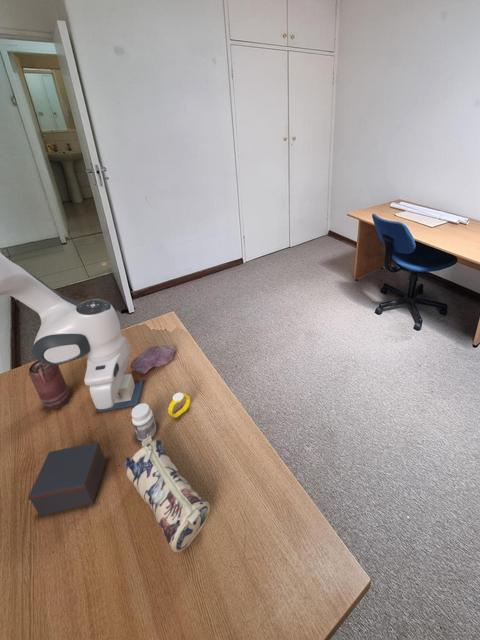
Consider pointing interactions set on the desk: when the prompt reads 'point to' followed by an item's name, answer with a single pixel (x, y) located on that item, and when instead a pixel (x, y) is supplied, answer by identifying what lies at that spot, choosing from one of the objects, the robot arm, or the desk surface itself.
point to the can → (49, 385)
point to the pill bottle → (143, 421)
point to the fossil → (152, 358)
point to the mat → (128, 403)
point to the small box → (126, 388)
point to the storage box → (68, 479)
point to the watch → (176, 399)
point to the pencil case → (167, 494)
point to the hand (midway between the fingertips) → (120, 391)
